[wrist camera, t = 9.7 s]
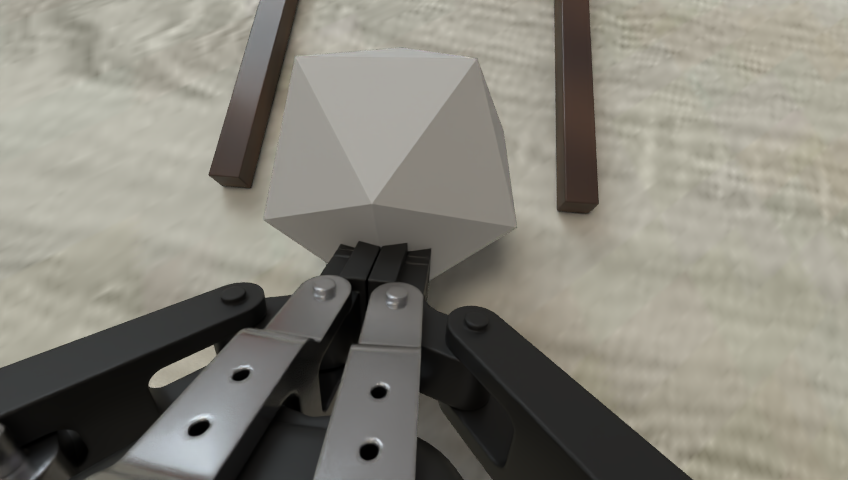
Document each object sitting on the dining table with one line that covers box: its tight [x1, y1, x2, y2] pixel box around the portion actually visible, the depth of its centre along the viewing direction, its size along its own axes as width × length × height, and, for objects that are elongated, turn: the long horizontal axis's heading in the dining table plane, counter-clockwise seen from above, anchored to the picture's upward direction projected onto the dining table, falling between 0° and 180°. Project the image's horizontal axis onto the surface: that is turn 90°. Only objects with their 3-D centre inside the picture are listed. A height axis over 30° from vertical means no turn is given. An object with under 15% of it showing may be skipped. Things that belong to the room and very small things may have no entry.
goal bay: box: [209, 0, 599, 213], centre depth 20 cm, size 16×18×1 cm
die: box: [263, 47, 517, 281], centre depth 14 cm, size 8×9×10 cm
